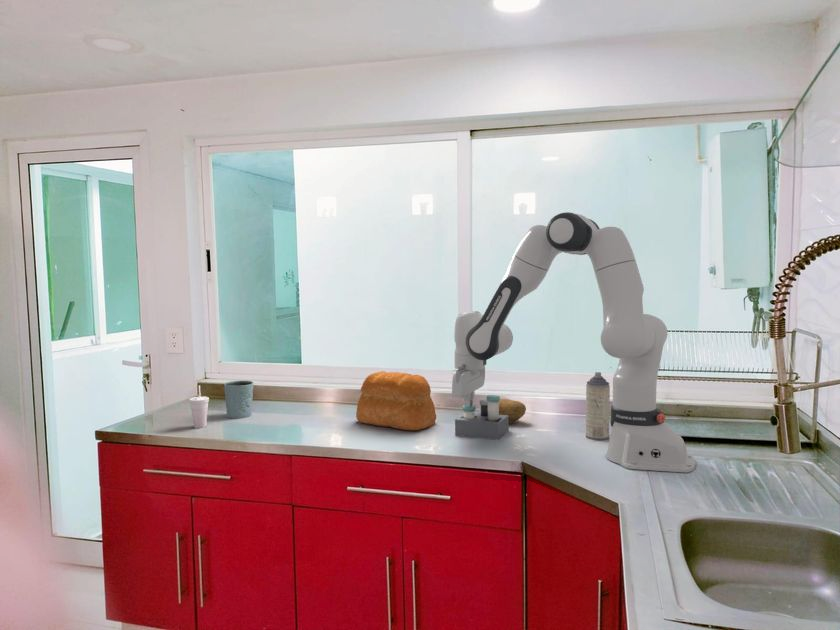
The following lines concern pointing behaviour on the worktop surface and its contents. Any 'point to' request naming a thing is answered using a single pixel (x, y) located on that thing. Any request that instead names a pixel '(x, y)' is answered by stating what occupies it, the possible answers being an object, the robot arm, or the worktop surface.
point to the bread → (396, 401)
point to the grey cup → (239, 399)
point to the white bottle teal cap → (493, 407)
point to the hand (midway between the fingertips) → (468, 405)
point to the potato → (511, 409)
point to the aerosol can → (597, 408)
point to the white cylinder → (469, 412)
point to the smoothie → (199, 410)
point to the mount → (482, 425)
